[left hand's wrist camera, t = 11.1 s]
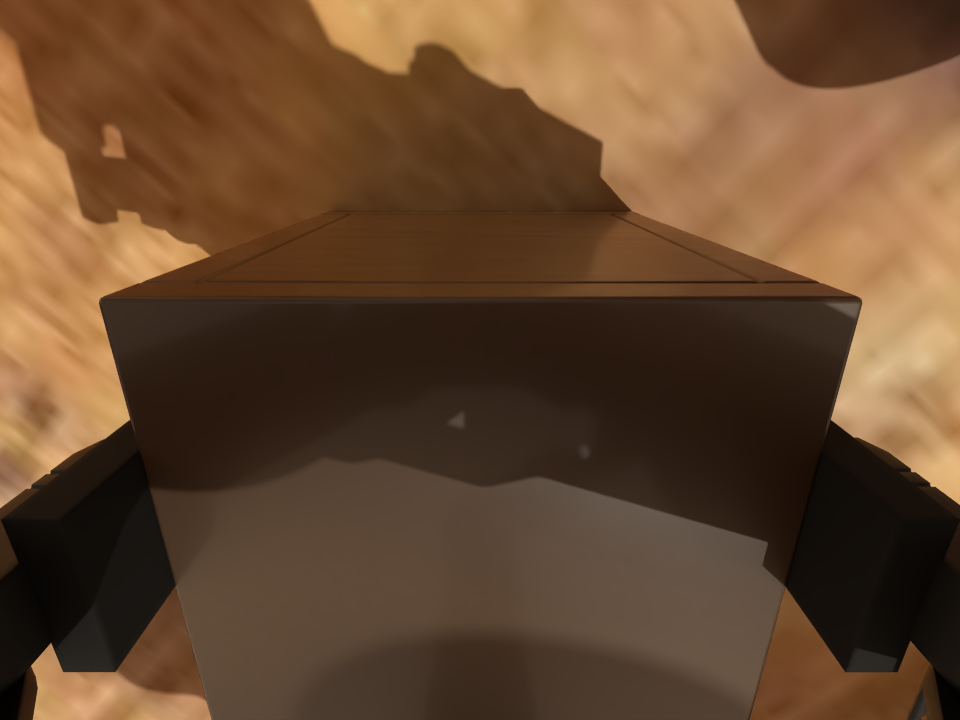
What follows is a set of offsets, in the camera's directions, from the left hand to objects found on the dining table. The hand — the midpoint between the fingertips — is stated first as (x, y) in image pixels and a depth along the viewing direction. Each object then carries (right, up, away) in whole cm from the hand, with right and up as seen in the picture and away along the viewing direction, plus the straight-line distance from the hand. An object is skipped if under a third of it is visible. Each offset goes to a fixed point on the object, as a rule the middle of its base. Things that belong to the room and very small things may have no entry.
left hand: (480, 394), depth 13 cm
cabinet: (0, -4, +9) cm, 10 cm away
